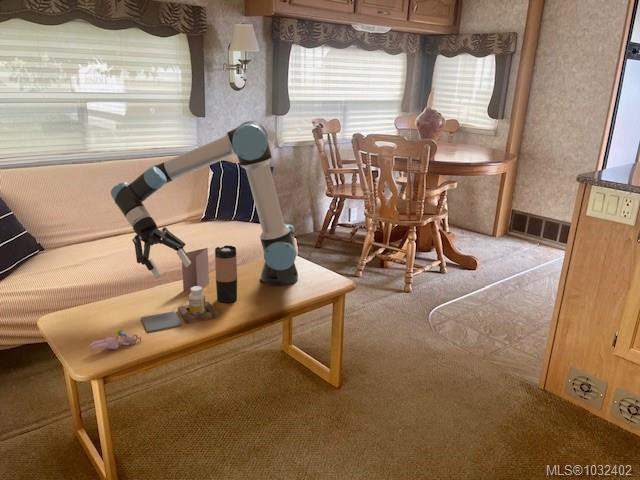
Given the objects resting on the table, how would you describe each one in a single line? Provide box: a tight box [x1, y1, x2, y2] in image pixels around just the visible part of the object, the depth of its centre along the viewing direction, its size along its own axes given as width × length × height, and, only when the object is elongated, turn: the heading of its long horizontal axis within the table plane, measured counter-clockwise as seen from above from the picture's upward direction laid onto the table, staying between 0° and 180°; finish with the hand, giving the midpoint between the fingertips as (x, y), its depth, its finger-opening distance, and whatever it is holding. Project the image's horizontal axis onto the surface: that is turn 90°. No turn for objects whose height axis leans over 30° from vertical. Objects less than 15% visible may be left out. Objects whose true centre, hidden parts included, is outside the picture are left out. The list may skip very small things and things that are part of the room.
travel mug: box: [214, 245, 238, 305], centre depth 186 cm, size 8×8×20 cm
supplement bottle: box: [188, 286, 207, 315], centre depth 176 cm, size 5×5×10 cm
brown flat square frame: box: [177, 300, 219, 324], centre depth 177 cm, size 11×11×2 cm
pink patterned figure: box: [88, 329, 142, 350], centre depth 154 cm, size 6×6×15 cm
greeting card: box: [181, 247, 210, 291], centre depth 196 cm, size 11×7×15 cm, turn 135°
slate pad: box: [140, 310, 183, 334], centre depth 171 cm, size 11×11×1 cm
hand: (174, 270), depth 178 cm, fingers open, 13 cm apart
